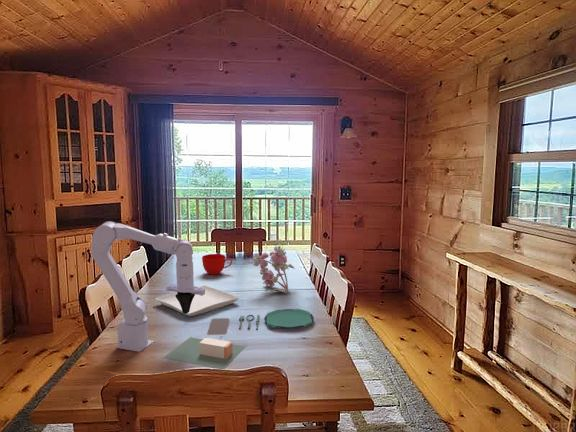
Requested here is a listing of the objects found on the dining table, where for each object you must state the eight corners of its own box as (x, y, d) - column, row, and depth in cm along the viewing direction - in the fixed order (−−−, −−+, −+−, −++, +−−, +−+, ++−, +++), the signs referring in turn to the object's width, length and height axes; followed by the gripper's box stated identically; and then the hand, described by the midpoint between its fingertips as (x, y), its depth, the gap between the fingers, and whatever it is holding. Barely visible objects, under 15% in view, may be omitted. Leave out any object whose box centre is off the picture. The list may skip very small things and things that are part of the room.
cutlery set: (316, 331, 148) (316, 325, 148) (236, 334, 147) (236, 328, 147) (311, 312, 168) (311, 307, 168) (240, 314, 167) (240, 309, 167)
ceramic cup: (230, 276, 219) (230, 259, 218) (200, 276, 219) (199, 259, 218) (233, 270, 232) (233, 254, 231) (205, 270, 232) (204, 253, 231)
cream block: (199, 342, 129) (226, 347, 126) (205, 337, 133) (232, 342, 130) (199, 354, 130) (226, 359, 126) (206, 348, 133) (232, 353, 130)
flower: (306, 281, 206) (285, 238, 206) (303, 290, 183) (280, 242, 184) (271, 296, 208) (251, 253, 208) (264, 308, 185) (242, 259, 186)
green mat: (162, 358, 127) (162, 357, 127) (190, 338, 142) (190, 337, 142) (223, 370, 120) (223, 369, 120) (245, 347, 135) (245, 346, 135)
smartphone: (206, 334, 144) (211, 318, 159) (206, 337, 144) (211, 320, 159) (226, 334, 145) (230, 318, 159) (226, 336, 145) (230, 320, 160)
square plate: (240, 304, 177) (240, 296, 177) (188, 322, 157) (188, 313, 157) (205, 291, 196) (205, 283, 195) (154, 305, 176) (153, 297, 175)
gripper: (209, 274, 139) (210, 311, 140) (174, 270, 143) (175, 306, 145) (198, 279, 132) (199, 318, 134) (161, 275, 137) (163, 313, 138)
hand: (186, 312), depth 139 cm, fingers closed
